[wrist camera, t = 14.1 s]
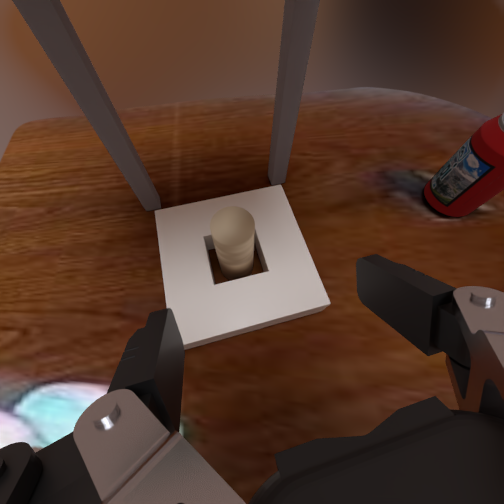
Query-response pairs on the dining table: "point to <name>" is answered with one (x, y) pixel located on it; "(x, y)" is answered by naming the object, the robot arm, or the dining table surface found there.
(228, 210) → the peg
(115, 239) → the dining table surface
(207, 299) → the socket
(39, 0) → the two-legged shelf table
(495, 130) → the beverage can
